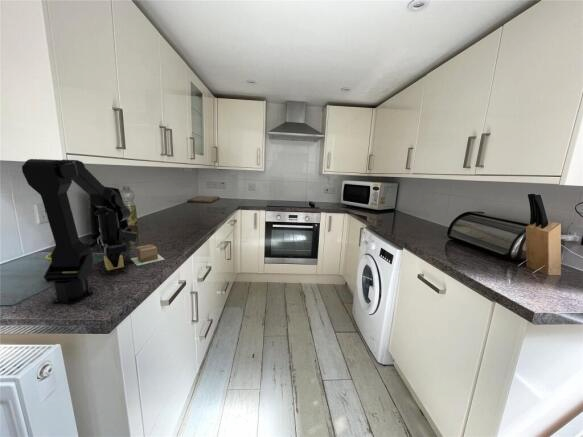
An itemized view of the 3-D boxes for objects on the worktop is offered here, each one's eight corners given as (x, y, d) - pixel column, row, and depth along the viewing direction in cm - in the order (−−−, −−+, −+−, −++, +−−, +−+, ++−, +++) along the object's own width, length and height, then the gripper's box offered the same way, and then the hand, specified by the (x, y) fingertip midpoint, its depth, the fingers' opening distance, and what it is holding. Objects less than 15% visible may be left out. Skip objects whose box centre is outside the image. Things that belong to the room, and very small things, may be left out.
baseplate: (164, 260, 98) (164, 259, 98) (137, 267, 91) (137, 265, 91) (156, 254, 105) (156, 253, 105) (130, 259, 98) (130, 258, 98)
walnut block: (157, 259, 98) (157, 247, 97) (141, 262, 94) (140, 250, 93) (153, 255, 102) (152, 244, 101) (137, 258, 98) (136, 247, 97)
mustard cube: (124, 268, 90) (122, 256, 89) (107, 272, 86) (106, 259, 85) (121, 264, 93) (119, 252, 92) (105, 268, 89) (103, 255, 88)
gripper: (141, 226, 86) (145, 266, 89) (128, 218, 98) (132, 253, 101) (103, 231, 78) (109, 275, 81) (94, 222, 90) (99, 260, 93)
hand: (114, 265), depth 89 cm, fingers closed on mustard cube, 5 cm apart
